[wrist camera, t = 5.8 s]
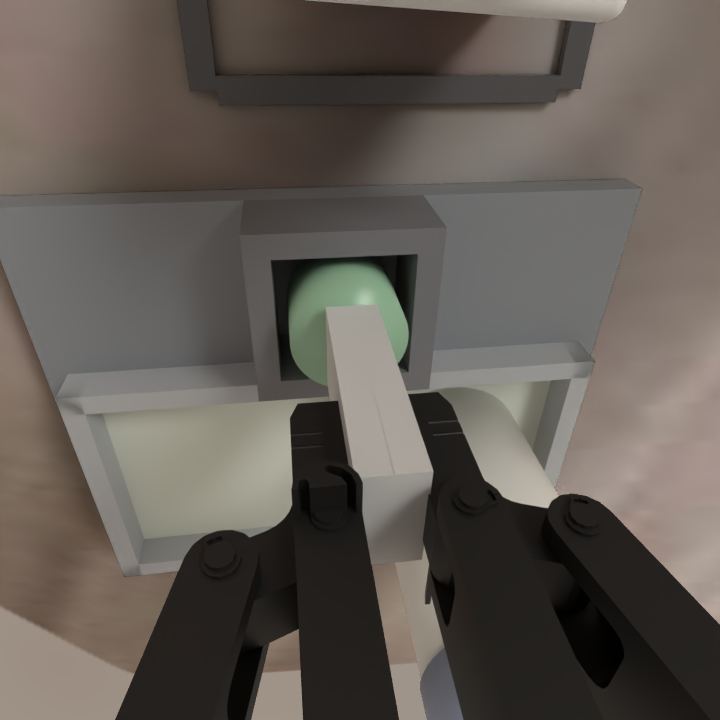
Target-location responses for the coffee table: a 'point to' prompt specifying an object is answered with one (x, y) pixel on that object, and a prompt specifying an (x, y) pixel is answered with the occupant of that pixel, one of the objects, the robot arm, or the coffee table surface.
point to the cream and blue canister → (500, 469)
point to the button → (338, 288)
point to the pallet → (271, 327)
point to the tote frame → (375, 76)
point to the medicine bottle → (513, 7)
